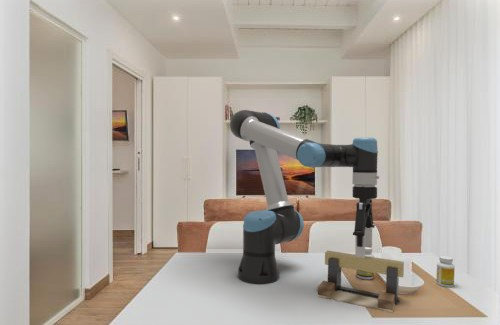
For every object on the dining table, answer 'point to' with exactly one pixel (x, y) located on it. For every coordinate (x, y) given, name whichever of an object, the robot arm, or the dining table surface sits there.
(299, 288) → the dining table surface
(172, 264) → the dining table surface
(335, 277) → the rack
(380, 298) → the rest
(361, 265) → the rail
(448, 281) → the supplement bottle
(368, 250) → the pill bottle
